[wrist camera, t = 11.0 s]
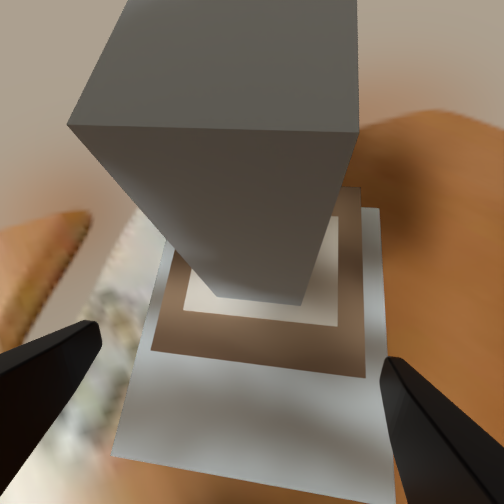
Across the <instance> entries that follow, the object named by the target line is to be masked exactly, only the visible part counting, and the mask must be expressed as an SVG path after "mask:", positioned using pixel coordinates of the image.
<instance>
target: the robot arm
mask: <svg viewBox="0 0 504 504" xmlns="http://www.w3.org/2000/svg"><path fill="white" fill-rule="evenodd" d="M101 347H102V338H101V333H100V329H99V325H98V323H97V322H95V321H89V320H83V321H80V322H78V323H75V324H73V325H70V326H68V327H65V328H63V329H61V330H58V331H55V332H53V333H51V334H48V335H46V336H43V337H41V338H38V339H36V340H33V341H31V342H28V343H26V344H23V345H21V346H18V347H16V348H13V349H11V350H9V351H6V352H4V353H1V354H0V496H1V495H2V494H3V492H4V491H5V489H6V488H7V487H8V485H9V484H10V482H11V481H12V480H13V478H14V477H15V475H16V474H17V473H18V471H19V470H20V468H21V467H22V466H23V464H24V463H25V461H26V460H27V459H28V457H29V456H30V454H31V453H32V452H33V450H34V449H35V448H36V446H37V445H38V443H39V442H40V441H41V439H42V438H43V436H44V435H45V434H46V432H47V431H48V429H49V428H50V427H51V425H52V424H53V422H54V421H55V420H56V418H57V417H58V415H59V414H60V413H61V411H62V410H63V408H64V407H65V406H66V404H67V403H68V401H69V400H70V399H71V397H72V396H73V394H74V393H75V391H76V390H77V388H78V386H79V385H80V383H81V381H82V380H83V378H84V376H85V375H86V373H87V371H88V370H89V368H90V366H91V364H92V363H93V361H94V359H95V358H96V356H97V354H98V353H99V351H100V349H101ZM379 385H380V391H381V396H382V402H383V407H384V413H385V418H386V423H387V429H388V434H389V439H390V443H391V447H392V451H393V454H394V458H395V461H396V464H397V468H398V471H399V475H400V478H401V481H402V485H403V488H404V492H405V495H406V498H407V502H408V504H504V447H503V446H502V445H500V444H499V443H498V442H497V441H496V440H495V439H494V438H492V437H491V436H490V435H489V434H488V433H487V432H486V431H484V430H483V429H482V428H481V427H480V426H479V425H478V424H477V423H475V422H474V421H473V420H472V419H471V418H470V417H469V416H467V415H466V414H465V413H464V412H463V411H462V410H461V409H459V408H458V407H457V406H456V405H455V404H454V403H453V402H451V401H450V400H449V399H448V398H447V397H446V396H445V395H443V394H442V393H441V392H440V391H439V390H438V389H437V388H435V387H434V386H433V385H432V384H431V383H430V382H429V381H427V380H426V379H425V378H424V377H423V376H422V375H421V374H419V373H418V372H417V371H416V370H415V369H414V368H413V367H412V366H410V365H409V364H408V363H407V362H406V361H405V360H403V359H402V358H399V357H391V356H387V357H386V358H385V359H384V363H383V366H382V370H381V374H380V379H379Z"/></svg>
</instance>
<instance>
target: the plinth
mask: <svg viewBox="0 0 504 504" xmlns="http://www.w3.org/2000/svg"><path fill="white" fill-rule="evenodd" d="M386 357H387V338H386V320H385V302H384V284H383V266H382V248H381V230H380V212H379V208H365V207H361V187H342V186H341V188H340V191H339V194H338V197H337V200H336V203H335V206H334V209H333V212H332V215H331V218H330V221H329V224H328V227H327V230H326V233H325V236H324V239H323V241H322V244H321V247H320V250H319V253H318V256H317V259H316V262H315V265H314V268H313V271H312V274H311V277H310V280H309V283H308V286H307V289H306V292H305V295H304V298H303V301H302V304H301V306H295V305H286V304H277V303H267V302H258V301H249V300H240V299H231V298H221V297H216V295H215V294H214V293H213V292H212V291H211V290H210V289H209V287H208V286H207V285H206V284H205V283H204V282H203V281H202V279H201V278H200V277H199V276H198V275H197V274H196V273H195V271H194V270H193V269H192V268H191V267H190V266H189V265H188V263H187V262H186V261H185V260H184V259H183V258H182V256H181V255H180V254H179V253H178V252H177V251H176V250H175V248H174V247H173V246H172V245H171V244H170V243H169V242H168V240H167V239H166V242H165V246H164V250H163V254H162V258H161V262H160V266H159V269H158V273H157V277H156V281H155V285H154V289H153V293H152V297H151V300H150V304H149V308H148V312H147V316H146V320H145V324H144V328H143V331H142V335H141V339H140V343H139V347H138V351H137V355H136V359H135V362H134V366H133V370H132V374H131V378H130V382H129V386H128V390H127V393H126V397H125V401H124V405H123V409H122V413H121V417H120V420H119V424H118V428H117V432H116V436H115V440H114V444H113V448H112V451H111V455H110V456H115V457H120V458H126V459H131V460H137V461H142V462H147V463H153V464H158V465H164V466H169V467H174V468H180V469H185V470H191V471H196V472H202V473H207V474H212V475H218V476H223V477H229V478H234V479H239V480H245V481H250V482H256V483H261V484H267V485H272V486H277V487H283V488H288V489H294V490H299V491H304V492H310V493H315V494H321V495H326V496H332V497H337V498H342V499H348V500H353V501H359V502H364V503H369V504H396V500H395V482H394V464H393V451H392V447H391V443H390V439H389V434H388V429H387V423H386V418H385V413H384V407H383V402H382V396H381V391H380V385H379V379H380V374H381V370H382V366H383V363H384V359H385V358H386Z"/></svg>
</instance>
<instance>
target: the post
mask: <svg viewBox="0 0 504 504" xmlns="http://www.w3.org/2000/svg"><path fill="white" fill-rule="evenodd" d="M357 33H358V32H357V0H128V1H127V3H126V5H125V7H124V9H123V11H122V13H121V16H120V17H119V20H118V21H117V24H116V26H115V28H114V30H113V32H112V34H111V36H110V38H109V40H108V42H107V44H106V46H105V48H104V50H103V52H102V54H101V56H100V58H99V60H98V62H97V64H96V66H95V68H94V70H93V72H92V74H91V76H90V78H89V80H88V82H87V84H86V86H85V88H84V90H83V93H82V94H81V96H80V99H79V100H78V102H77V105H76V107H75V108H74V110H73V112H72V114H71V117H70V119H69V120H68V123H67V126H68V127H69V128H70V129H71V130H72V131H73V133H74V134H75V135H76V136H77V137H78V138H79V139H80V141H81V142H82V143H83V144H84V145H85V146H86V147H87V148H88V150H89V151H90V152H91V153H92V154H93V155H94V157H95V158H96V159H97V160H98V161H99V162H100V164H101V165H102V166H103V167H104V168H105V169H106V170H107V171H108V173H109V174H110V175H111V176H112V177H113V178H114V180H115V181H116V182H117V183H118V184H119V185H120V187H121V188H122V189H123V190H124V191H125V192H126V193H127V195H128V196H129V197H130V198H131V199H132V200H133V201H134V203H135V204H136V205H137V206H138V207H139V208H140V209H141V211H142V212H143V213H144V214H145V215H146V216H147V217H148V219H149V220H150V221H151V222H152V223H153V224H154V226H155V227H156V228H157V229H158V230H159V231H160V232H161V234H162V235H163V236H164V237H165V238H166V239H167V240H168V242H169V243H170V244H171V245H172V246H173V247H174V248H175V250H176V251H177V252H178V253H179V254H180V255H181V256H182V258H183V259H184V260H185V261H186V262H187V263H188V265H189V266H190V267H191V268H192V269H193V270H194V271H195V273H196V274H197V275H198V276H199V277H200V278H201V279H202V281H203V282H204V283H205V284H206V285H207V286H208V287H209V289H210V290H211V291H212V292H213V293H214V294H215V295H216V297H221V298H231V299H240V300H249V301H258V302H267V303H277V304H286V305H295V306H301V304H302V301H303V298H304V295H305V292H306V289H307V286H308V283H309V280H310V277H311V274H312V271H313V268H314V265H315V262H316V259H317V256H318V253H319V250H320V247H321V244H322V241H323V239H324V236H325V233H326V230H327V227H328V224H329V221H330V218H331V215H332V212H333V209H334V206H335V203H336V200H337V197H338V194H339V191H340V188H341V185H342V182H343V179H344V176H345V173H346V170H347V167H348V164H349V162H350V159H351V156H352V153H353V150H354V147H355V144H356V141H357V138H358V135H359V92H358V91H359V89H358V37H357V36H358V35H357Z"/></svg>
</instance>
